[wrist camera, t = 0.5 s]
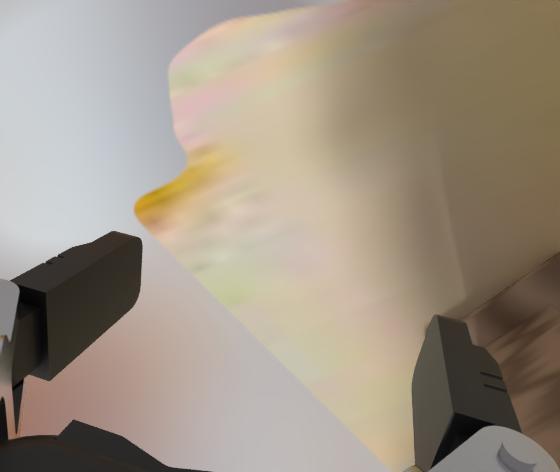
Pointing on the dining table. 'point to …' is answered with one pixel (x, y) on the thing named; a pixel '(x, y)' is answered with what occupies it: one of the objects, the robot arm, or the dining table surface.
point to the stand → (527, 349)
